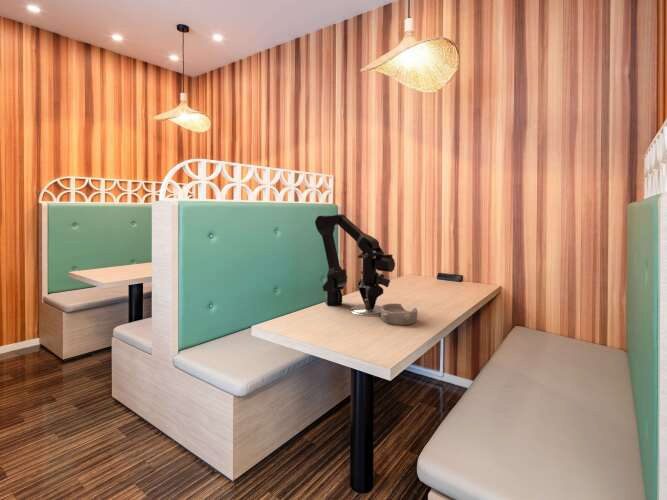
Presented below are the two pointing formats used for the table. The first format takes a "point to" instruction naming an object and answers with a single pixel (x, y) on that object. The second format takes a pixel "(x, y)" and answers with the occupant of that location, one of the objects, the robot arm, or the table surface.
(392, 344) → the table surface
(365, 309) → the lid
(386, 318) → the dish
